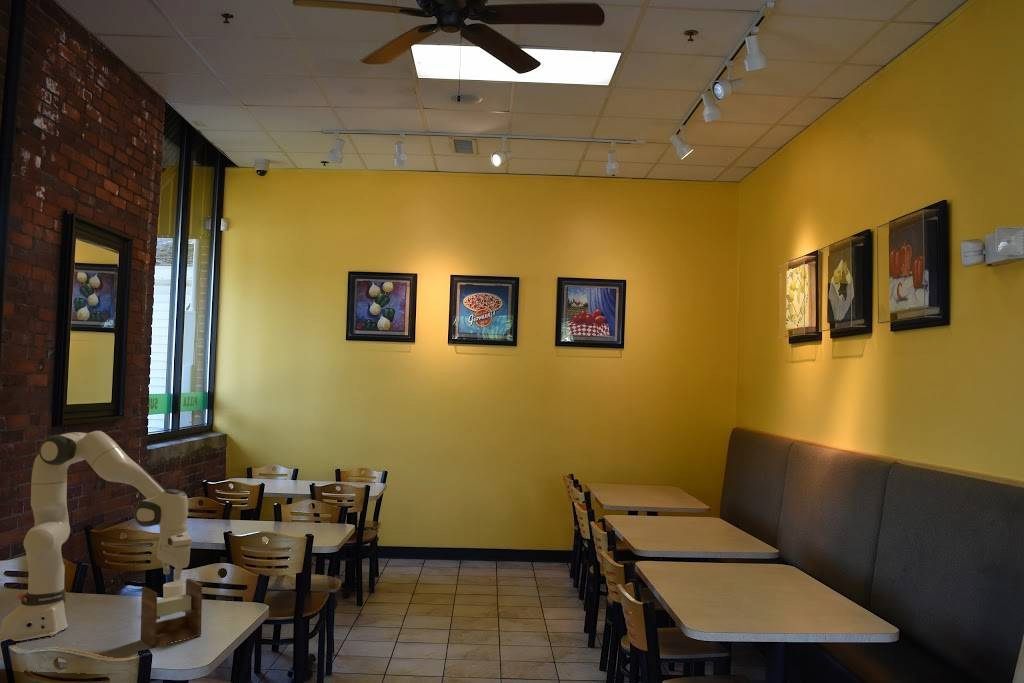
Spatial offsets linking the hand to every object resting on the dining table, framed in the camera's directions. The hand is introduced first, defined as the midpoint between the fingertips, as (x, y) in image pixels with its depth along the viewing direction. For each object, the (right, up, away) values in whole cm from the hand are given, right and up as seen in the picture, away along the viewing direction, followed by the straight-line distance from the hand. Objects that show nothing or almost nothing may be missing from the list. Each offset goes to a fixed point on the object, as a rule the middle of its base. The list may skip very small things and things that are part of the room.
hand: (171, 576), depth 263 cm
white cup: (-13, -23, +31) cm, 41 cm away
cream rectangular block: (0, -12, -1) cm, 12 cm away
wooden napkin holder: (0, -21, -1) cm, 21 cm away
